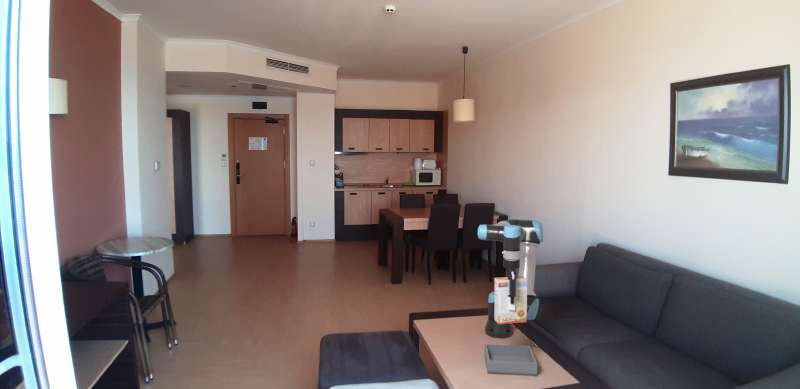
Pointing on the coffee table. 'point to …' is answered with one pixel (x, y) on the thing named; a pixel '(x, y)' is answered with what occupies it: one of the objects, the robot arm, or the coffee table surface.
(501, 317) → the cracker box
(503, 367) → the pantry crate
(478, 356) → the coffee table surface
